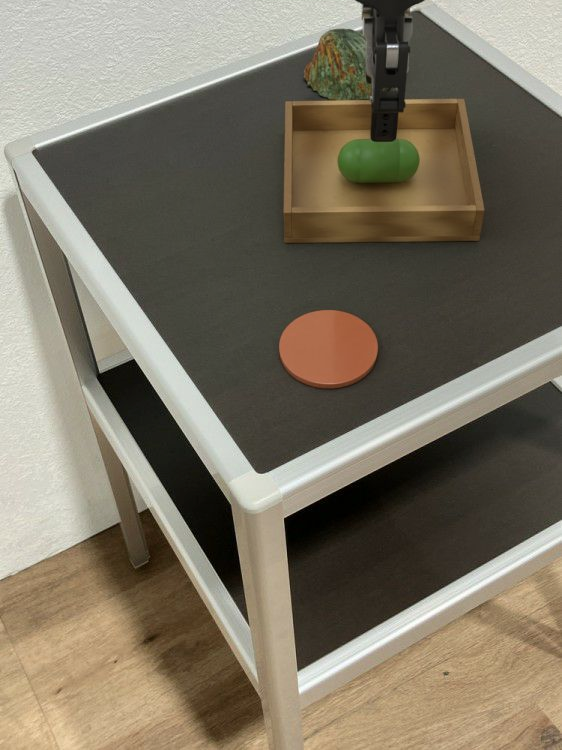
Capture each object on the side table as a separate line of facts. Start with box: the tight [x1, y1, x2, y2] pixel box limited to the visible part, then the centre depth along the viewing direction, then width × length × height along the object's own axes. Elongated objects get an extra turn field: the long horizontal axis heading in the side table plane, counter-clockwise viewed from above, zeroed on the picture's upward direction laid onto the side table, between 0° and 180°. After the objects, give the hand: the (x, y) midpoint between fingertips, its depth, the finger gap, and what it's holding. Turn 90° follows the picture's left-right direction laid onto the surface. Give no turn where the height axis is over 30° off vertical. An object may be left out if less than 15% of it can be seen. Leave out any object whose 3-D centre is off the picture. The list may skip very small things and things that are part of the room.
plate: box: [278, 309, 379, 390], centre depth 78 cm, size 8×8×1 cm
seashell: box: [303, 28, 391, 101], centre depth 102 cm, size 10×4×10 cm
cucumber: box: [337, 139, 420, 183], centre depth 90 cm, size 8×4×4 cm, turn 89°
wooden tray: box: [283, 98, 485, 244], centre depth 90 cm, size 17×16×4 cm
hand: (380, 109), depth 85 cm, fingers open, 8 cm apart
